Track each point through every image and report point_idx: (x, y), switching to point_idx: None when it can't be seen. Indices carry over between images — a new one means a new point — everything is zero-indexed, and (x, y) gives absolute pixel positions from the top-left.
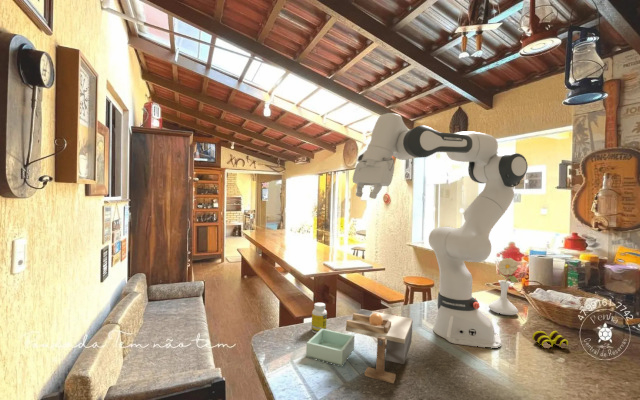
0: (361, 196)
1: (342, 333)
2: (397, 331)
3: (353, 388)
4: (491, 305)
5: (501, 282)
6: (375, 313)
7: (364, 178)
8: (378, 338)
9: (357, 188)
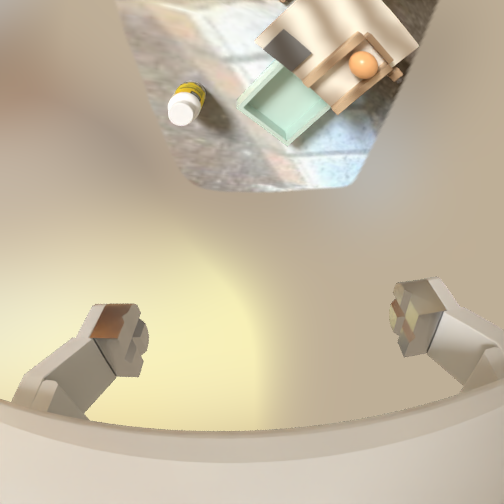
0: (133, 305)
1: (268, 78)
2: (389, 35)
3: (380, 103)
4: None
5: None
6: (365, 69)
7: None
8: (394, 80)
9: (94, 396)
